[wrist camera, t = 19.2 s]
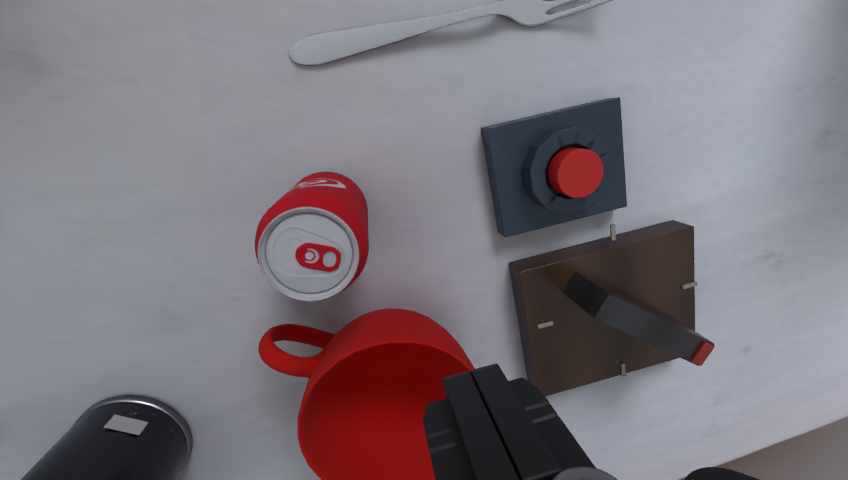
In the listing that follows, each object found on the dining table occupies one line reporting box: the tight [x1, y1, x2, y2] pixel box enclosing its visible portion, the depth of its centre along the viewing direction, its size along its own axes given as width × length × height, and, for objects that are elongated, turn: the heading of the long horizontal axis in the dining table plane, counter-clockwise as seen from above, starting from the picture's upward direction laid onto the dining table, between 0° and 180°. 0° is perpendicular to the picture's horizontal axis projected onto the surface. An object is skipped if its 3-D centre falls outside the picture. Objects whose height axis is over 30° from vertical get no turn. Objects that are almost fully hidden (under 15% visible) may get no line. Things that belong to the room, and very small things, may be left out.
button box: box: [481, 97, 627, 237], centre depth 32 cm, size 11×9×4 cm
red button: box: [547, 148, 603, 198], centre depth 30 cm, size 4×4×2 cm
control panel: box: [509, 220, 697, 396], centre depth 37 cm, size 16×15×3 cm
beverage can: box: [255, 172, 369, 301], centre depth 27 cm, size 6×6×12 cm
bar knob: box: [563, 271, 715, 366], centre depth 33 cm, size 11×2×5 cm, turn 63°
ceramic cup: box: [259, 309, 475, 480], centre depth 31 cm, size 13×17×10 cm
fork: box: [289, 0, 612, 65], centre depth 29 cm, size 3×24×2 cm, turn 102°
